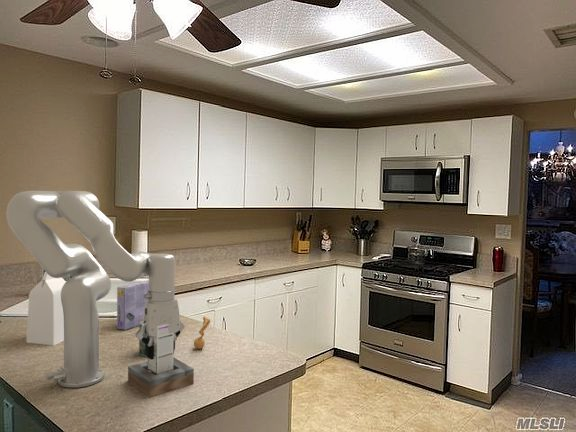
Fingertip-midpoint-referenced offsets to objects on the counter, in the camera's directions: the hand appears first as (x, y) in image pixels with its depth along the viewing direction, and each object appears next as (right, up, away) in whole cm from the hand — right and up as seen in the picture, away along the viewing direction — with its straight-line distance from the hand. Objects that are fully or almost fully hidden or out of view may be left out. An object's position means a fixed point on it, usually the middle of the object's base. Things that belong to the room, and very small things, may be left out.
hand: (160, 355), depth 132 cm
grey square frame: (0, -8, 0) cm, 8 cm away
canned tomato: (-11, -7, +25) cm, 28 cm away
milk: (-52, -6, +36) cm, 64 cm away
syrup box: (0, -5, 0) cm, 5 cm away
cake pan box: (-27, -5, +58) cm, 64 cm away
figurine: (+6, -7, +30) cm, 31 cm away
